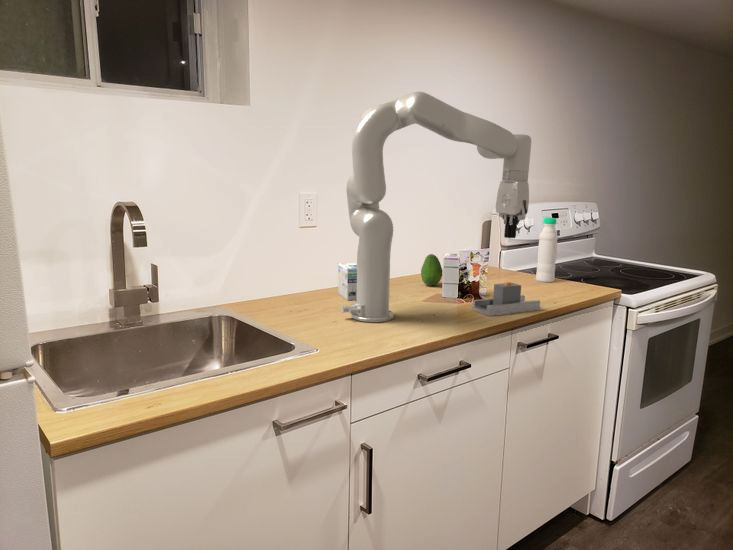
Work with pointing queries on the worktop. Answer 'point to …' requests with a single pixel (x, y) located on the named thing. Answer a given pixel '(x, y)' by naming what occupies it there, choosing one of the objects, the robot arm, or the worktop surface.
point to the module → (506, 293)
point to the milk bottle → (547, 251)
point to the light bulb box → (347, 280)
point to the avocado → (431, 270)
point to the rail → (505, 306)
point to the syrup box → (450, 275)
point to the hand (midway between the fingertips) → (509, 237)
